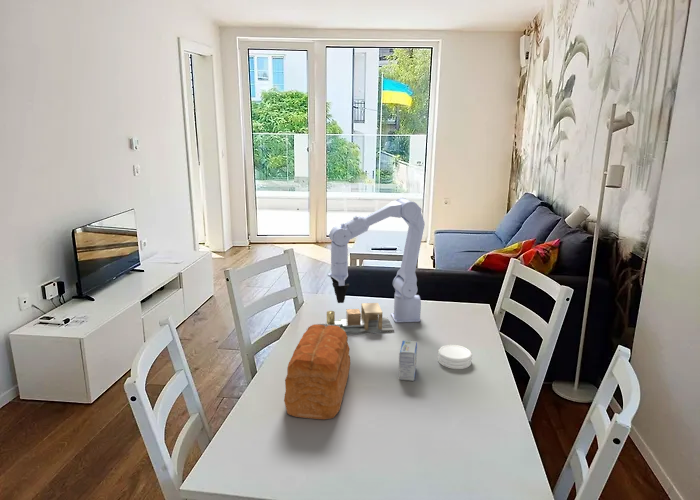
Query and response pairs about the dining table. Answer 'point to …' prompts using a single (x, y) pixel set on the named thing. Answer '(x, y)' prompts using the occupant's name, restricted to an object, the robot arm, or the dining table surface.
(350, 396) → the dining table surface
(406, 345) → the medicine box
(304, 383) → the bread
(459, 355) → the coaster
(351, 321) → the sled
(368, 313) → the track
